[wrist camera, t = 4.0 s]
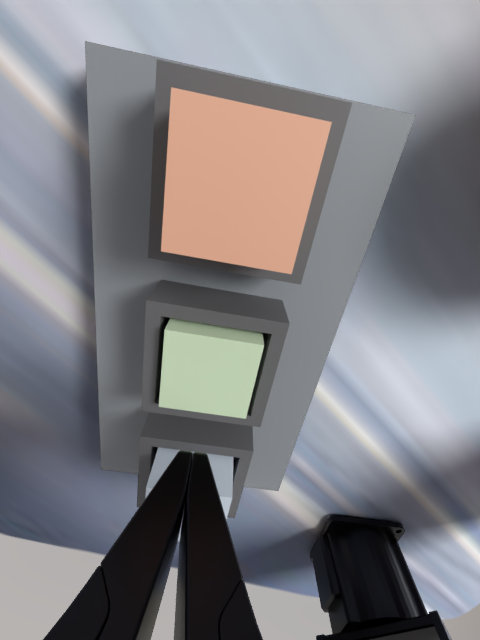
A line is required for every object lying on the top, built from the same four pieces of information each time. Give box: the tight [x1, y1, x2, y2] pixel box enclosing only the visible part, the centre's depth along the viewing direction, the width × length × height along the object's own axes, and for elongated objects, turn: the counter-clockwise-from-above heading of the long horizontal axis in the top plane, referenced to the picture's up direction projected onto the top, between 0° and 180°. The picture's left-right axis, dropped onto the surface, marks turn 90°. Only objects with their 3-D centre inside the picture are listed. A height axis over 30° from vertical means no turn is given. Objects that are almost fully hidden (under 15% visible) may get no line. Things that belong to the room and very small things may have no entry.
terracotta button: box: [161, 87, 332, 274], centre depth 10 cm, size 4×4×3 cm
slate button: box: [145, 447, 234, 541], centre depth 16 cm, size 4×4×3 cm
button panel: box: [85, 41, 416, 518], centre depth 15 cm, size 12×22×4 cm, turn 170°
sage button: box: [159, 318, 264, 419], centre depth 14 cm, size 4×4×3 cm
